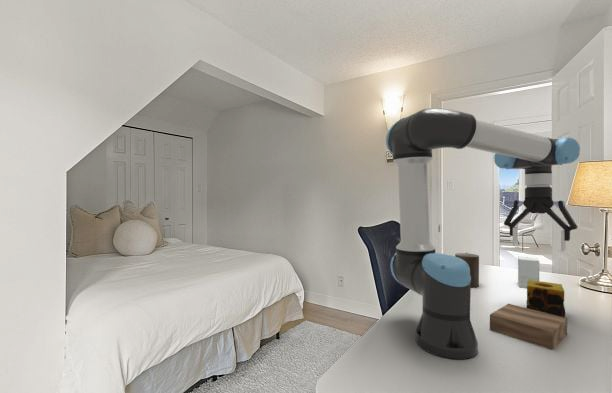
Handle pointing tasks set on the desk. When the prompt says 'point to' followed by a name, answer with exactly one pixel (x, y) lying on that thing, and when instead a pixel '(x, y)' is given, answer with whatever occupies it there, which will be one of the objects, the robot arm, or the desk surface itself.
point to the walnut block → (529, 325)
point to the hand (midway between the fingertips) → (538, 247)
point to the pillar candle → (471, 266)
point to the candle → (545, 297)
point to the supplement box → (527, 270)
